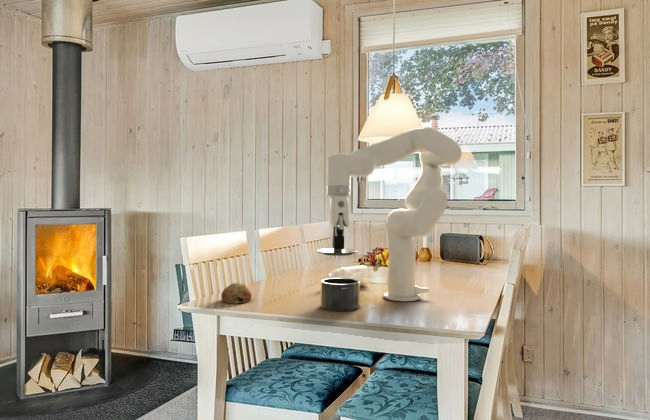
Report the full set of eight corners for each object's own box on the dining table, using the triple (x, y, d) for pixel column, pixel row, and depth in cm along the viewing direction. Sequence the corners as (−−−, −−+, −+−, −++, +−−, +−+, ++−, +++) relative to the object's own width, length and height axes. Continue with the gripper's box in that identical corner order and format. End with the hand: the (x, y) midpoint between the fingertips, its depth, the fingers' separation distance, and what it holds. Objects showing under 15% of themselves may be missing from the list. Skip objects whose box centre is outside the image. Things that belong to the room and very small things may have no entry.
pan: (353, 300, 180) (353, 276, 180) (364, 312, 162) (364, 285, 162) (318, 301, 178) (318, 276, 178) (324, 313, 161) (324, 286, 161)
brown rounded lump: (224, 314, 174) (227, 294, 171) (216, 296, 182) (219, 277, 179) (252, 311, 178) (256, 292, 175) (244, 294, 186) (247, 275, 183)
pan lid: (354, 251, 178) (354, 235, 178) (361, 256, 164) (362, 238, 164) (315, 251, 176) (315, 235, 176) (319, 256, 163) (319, 238, 163)
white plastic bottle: (320, 288, 203) (320, 268, 203) (358, 283, 214) (358, 264, 214) (332, 291, 197) (332, 270, 197) (371, 286, 208) (371, 266, 207)
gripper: (354, 191, 162) (354, 251, 163) (346, 191, 178) (345, 245, 179) (330, 191, 161) (330, 251, 162) (324, 191, 177) (323, 245, 178)
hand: (338, 247), depth 170 cm, fingers closed on pan lid, 2 cm apart
